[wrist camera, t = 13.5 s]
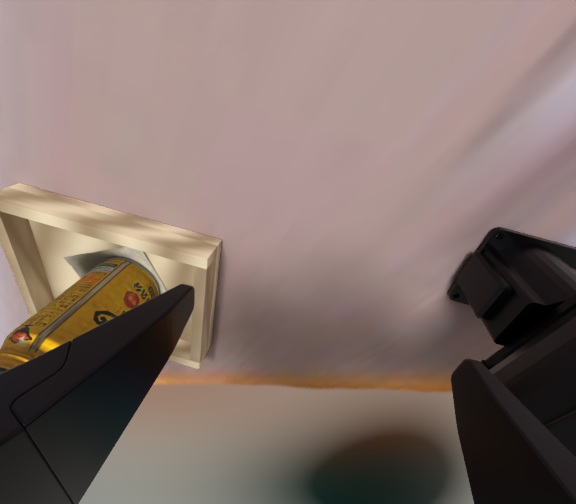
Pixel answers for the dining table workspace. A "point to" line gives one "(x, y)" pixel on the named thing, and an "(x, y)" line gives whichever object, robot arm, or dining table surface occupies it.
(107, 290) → the condiment
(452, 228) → the dining table surface
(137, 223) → the tray
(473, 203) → the dining table surface
